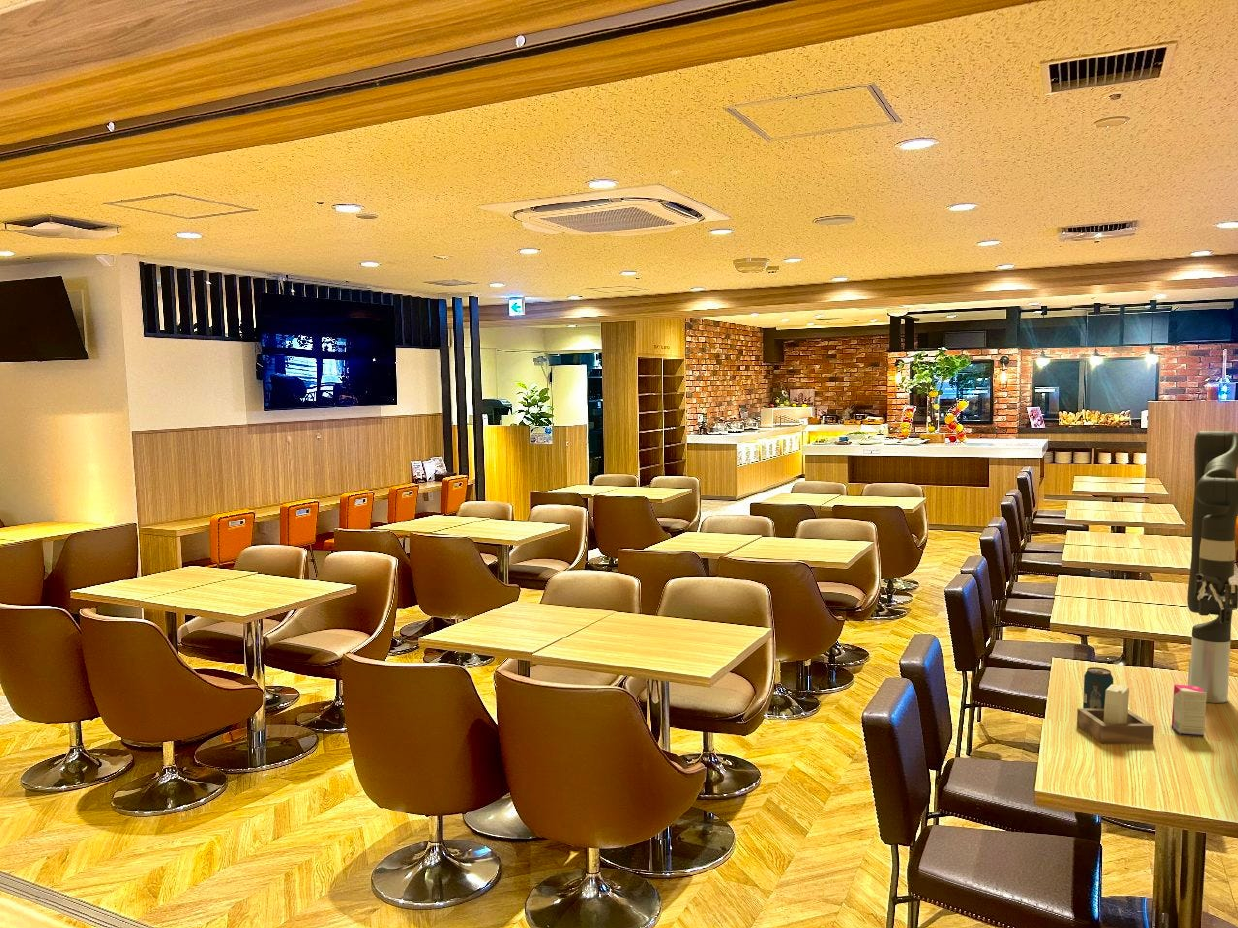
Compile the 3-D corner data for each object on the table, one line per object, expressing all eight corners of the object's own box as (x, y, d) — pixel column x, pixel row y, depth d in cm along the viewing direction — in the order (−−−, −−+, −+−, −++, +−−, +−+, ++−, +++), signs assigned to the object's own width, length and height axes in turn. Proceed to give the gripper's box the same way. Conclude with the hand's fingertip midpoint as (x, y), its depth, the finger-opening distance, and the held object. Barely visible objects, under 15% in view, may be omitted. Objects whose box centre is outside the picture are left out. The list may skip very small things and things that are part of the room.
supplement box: (1205, 737, 234) (1207, 692, 233) (1179, 735, 235) (1181, 691, 234) (1195, 728, 239) (1198, 685, 238) (1170, 727, 241) (1172, 683, 240)
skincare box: (1108, 729, 239) (1110, 682, 238) (1127, 733, 236) (1129, 686, 235) (1101, 735, 235) (1103, 688, 234) (1121, 740, 232) (1123, 692, 231)
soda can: (1105, 709, 254) (1107, 666, 253) (1116, 718, 247) (1118, 674, 246) (1078, 709, 254) (1080, 666, 253) (1089, 718, 247) (1090, 673, 246)
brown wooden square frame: (1076, 725, 242) (1077, 708, 242) (1125, 724, 242) (1125, 708, 242) (1102, 743, 230) (1102, 725, 229) (1153, 743, 230) (1153, 725, 229)
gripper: (1250, 562, 228) (1247, 627, 229) (1214, 550, 242) (1211, 612, 243) (1219, 562, 228) (1216, 627, 229) (1185, 551, 242) (1182, 612, 244)
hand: (1213, 619), depth 236 cm, fingers open, 8 cm apart
